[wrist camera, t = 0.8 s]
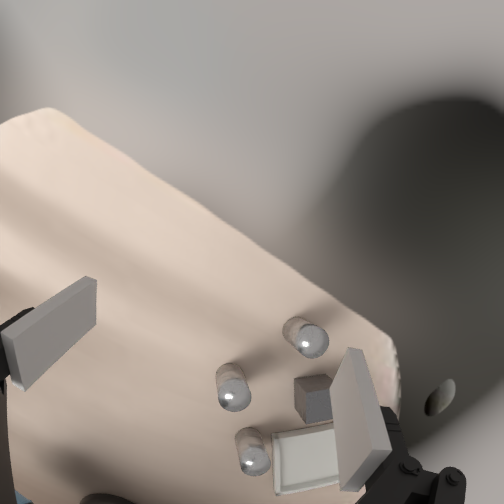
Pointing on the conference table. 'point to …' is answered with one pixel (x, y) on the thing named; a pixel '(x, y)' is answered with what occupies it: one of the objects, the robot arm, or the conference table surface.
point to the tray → (304, 459)
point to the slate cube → (313, 398)
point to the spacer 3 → (306, 337)
